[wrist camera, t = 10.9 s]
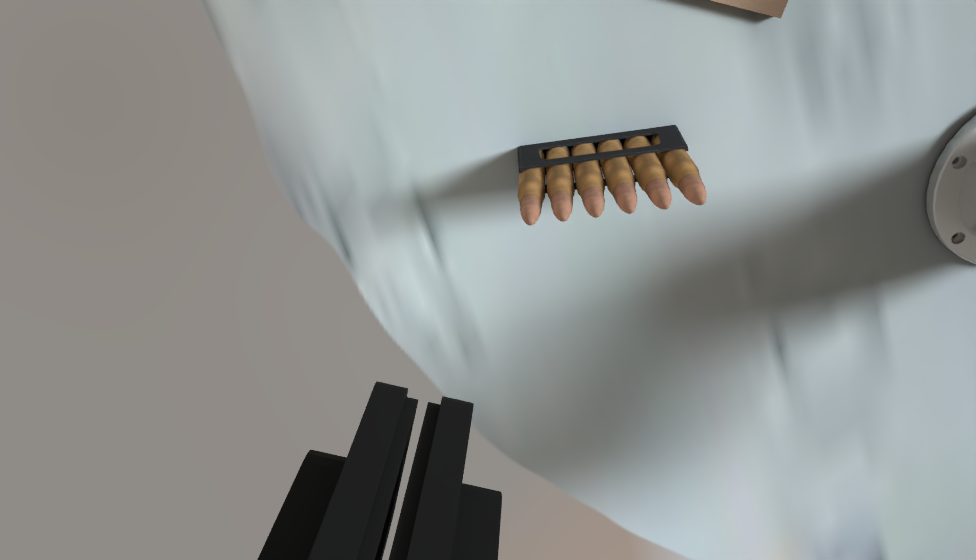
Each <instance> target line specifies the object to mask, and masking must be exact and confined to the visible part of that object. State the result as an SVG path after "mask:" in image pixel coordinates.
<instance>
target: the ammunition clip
mask: <svg viewBox="0 0 976 560" xmlns="http://www.w3.org/2000/svg"><path fill="white" fill-rule="evenodd" d="M684 148H685V149H684ZM686 151H688V146H687V144H686V143H685V141H684V139H683V137H682V135H681V133H680V131H679V130H678V128H677V126H676V125H671V126H664V127H656V128H649V129H642V130H634V131H627V132H620V133H612V134H605V135H598V136H590V137H583V138H576V139H568V140H561V141H554V142H546V143H539V144H532V145H524V146H520V147H518V163H519V184H518V199H519V202H520V211H521V215H522V218H523V220H524V222H525V223H526V224H527V225H533V224H535V223H536V221H537V220H538V218H539V216H540V213H541V207H542V203H543V200H544V198H545V193H547V194H548V197H549V199H550V201H551V206H552V210H553V213H554V215H555V216H556V218H557V219H558V220H560V221H566V220H567V219H568V218H569V217H570V214H571V212H572V206H573V196H574V192H575V190H576V189H577V191H578V194H579V195H580V196H581V198H582V201H583V204H584V207H585V209H586V211H587V212H588V213H589V214H590V215H591V216H592V217H595V218H596V217H599V216H600V215H601V214H602V212H603V210H604V202H605V200H604V190H605V186H607V187H608V190H609V191H610V193H611V194H612V195H613V197H614V198H615V201H616V203H617V204H618V206H619V207H620V209H621V210H623V211H624V212H626V213H629V214H630V213H633V212H634V211H635V209H636V206H637V195H636V190H635V182H638V184H639V186H640V187H641V188H642V190H643V191H645V192H646V194H647V195H648V197H649V198H650V200H651V201H652V202H653V204H654V205H656V206H657V207H659V208H660V209H667V208H669V206H670V204H671V192H670V188H669V186H668V182H667V178H669V179H670V181H671V182H672V184H673V185H674V186H675V187H677V188H678V189H679V190H680V191H681V192H682V193H683V195H684V196H685V197H686V198H687V199H688V200H689V201H690V202H692V203H694V204H696V205H703V204H704V203H705V201H706V190H705V186H704V184H703V182H702V180H701V178H700V175H699V170H698V168H697V166H696V165H695V163H694V162H693V161H692V159H691V158H690V156H689V155H688V153H687V152H686ZM629 163H630V165H631V167H632V170H633V172H634V174H635V175H633V172H632V170H631V167H630V165H629ZM600 167H602V170H603V174H604V177H605V179H603V176H602V172H601V168H600ZM573 171H574V175H575V181H576V182H575V183H574V178H573ZM545 175H546V178H547V185H545Z"/></svg>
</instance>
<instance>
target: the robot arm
mask: <svg viewBox="0 0 976 560" xmlns="http://www.w3.org/2000/svg"><path fill="white" fill-rule="evenodd" d="M927 214H928V218H929V221H930V225H931V227H932V229H933V231H934V232H935V234H936V236H937V238H938V239H939V240H940V241H941V242H942V243H943V244H944V245H945V246H946V247H947V248H948V249H949V250H951V251H952V252H954V253H955V254H956V255H958V256H959V257H961V258H963V259H965V260H967V261H969V262H971V263H973V264H976V115H975V116H974V117H973V118H972V119H971V120H969V121H968V122H967V123H966V124H965V125H964V126H963V127H962V128H961V129H960V130H959V131H958V132H957V133H956V135H955V136H954V137H953V138H952V139H951V140H950V141H949V143H948V144H947V146H946V147H945V149H944V150H943V152H942V154H941V155H940V157H939V158H938V160H937V162H936V165H935V167H934V169H933V172H932V174H931V177H930V180H929V185H928V190H927ZM407 393H408V388H404V387H399V386H395V385H390V384H386V383H382V382H376V383H375V386H374V388H373V391H372V393H371V396H370V399H369V401H368V404H367V406H366V409H365V412H364V414H363V417H362V419H361V422H360V425H359V427H358V430H357V433H356V435H355V438H354V441H353V443H352V446H351V448H350V451H349V454H348V456H347V458H346V457H341V456H337V455H332V454H328V453H324V452H319V451H314V450H310V451H309V452H308V453H307V455H306V457H305V459H304V461H303V463H302V465H301V467H300V470H299V471H298V474H297V476H296V478H295V480H294V482H293V484H292V487H291V489H290V491H289V493H288V495H287V497H286V499H285V502H284V504H283V506H282V508H281V510H280V512H279V514H278V517H277V519H276V521H275V523H274V525H273V527H272V530H271V532H270V534H269V536H268V538H267V540H266V542H265V545H264V547H263V549H262V551H261V553H260V555H259V558H258V560H382V557H383V553H384V549H385V546H386V542H387V538H388V534H389V530H390V526H391V522H392V518H393V514H394V510H395V505H396V500H397V496H398V491H399V487H400V482H401V477H402V472H403V468H404V464H405V459H406V454H407V450H408V445H409V441H410V436H411V431H412V426H413V422H414V418H415V413H416V408H417V403H418V400H417V399H413V398H408V397H407ZM472 412H473V403H470V402H465V401H461V400H457V399H452V398H448V397H442V401H441V405H439V404H435V403H430V402H428V405H427V409H426V413H425V417H424V421H423V425H422V429H421V433H420V437H419V441H418V445H417V449H416V453H415V457H414V461H413V465H412V469H411V473H410V477H409V481H408V485H407V489H406V493H405V497H404V501H403V506H402V509H401V513H400V517H399V521H398V525H397V529H396V533H395V537H394V541H393V545H392V549H391V553H390V557H389V560H498V547H499V532H500V518H501V505H502V494H501V492H499V491H495V490H490V489H486V488H481V487H477V486H472V485H468V484H463V483H462V479H463V473H464V465H465V459H466V452H467V446H468V439H469V432H470V426H471V419H472Z"/></svg>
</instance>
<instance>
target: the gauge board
mask: <svg viewBox="0 0 976 560" xmlns="http://www.w3.org/2000/svg"><path fill="white" fill-rule="evenodd" d="M711 1H714V2H718V3H722V4H726V5H730V6H734V7H738V8H742V9H746V10H750V11H754V12H758V13H762V14H766V15H770V16H774V17H777V18H781V17H782V14H783V12H784V9H785V7H786V5H787V2H788V0H711Z"/></svg>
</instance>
